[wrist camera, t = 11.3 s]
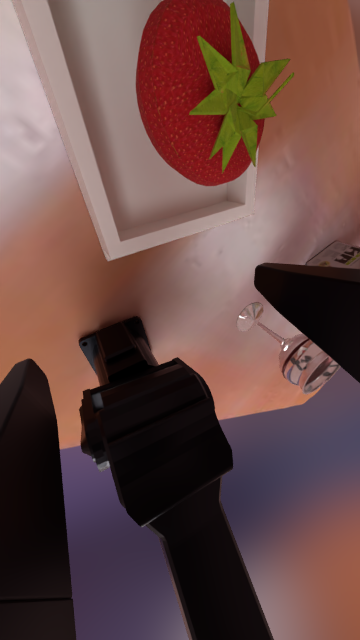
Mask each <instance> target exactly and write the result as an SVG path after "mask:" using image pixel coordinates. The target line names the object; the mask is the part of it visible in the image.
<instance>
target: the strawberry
mask: <svg viewBox="0 0 360 640" xmlns="http://www.w3.org/2000/svg"><path fill="white" fill-rule="evenodd" d="M289 61H290V59H283V60H276V61H269V62H262V63H261V64H260V62H259V59H258V55H257V53H256V50H255V48H254V45H253V43H252V41H251V39H250V37H249V35H248V34H247V32H246V30H245V28H244V27H243V25H242V23H241V22H240V20H239V18H238V16H237V12H236V8H235V4H234V2H232V3H231V4H230V7H229V6H228V5H227V3H225V2H224V1H223V0H163V1H161V2H160V3H159V4H158V5H157V7H156V8H155V9H154V10H153V11H152V12H151V14H150V16H149V18H148V20H147V22H146V25H145V27H144V29H143V33H142V38H141V42H140V47H139V53H138V61H137V69H136V95H137V103H138V108H139V112H140V116H141V120H142V122H143V125H144V128H145V130H146V133H147V135H148V137H149V139H150V141H151V143H152V145H153V146H154V148H155V149H156V151H157V152H158V154H159V155H160V156H161V157H162V158H163V160H164V161H165V162H166V163H167V164H168V165H169V166H171V167H172V168H173V169H174V170H176V171H177V172H178V173H180V174H181V175H182V176H184V177H185V178H187V179H188V180H190V181H192V182H194V183H196V184H199V185H203V186H217V185H221V184H224V183H227V182H230V181H233V180H235V179H236V178H238V177H239V176H241V175H242V174H243V173H244V172H245V171H246V170H247V168H248V167H249V165H250V164H251V162H252V163H253V165H254V167H256V151H257V149H258V146H259V143H260V140H261V136H262V132H263V127H264V120H265V118H268V117H274V116H276V114H275V112H274V110H273V108H272V106H271V104H270V101H271V100H272V99H273V98H274V97H275V96H276V95H277V94H278V93H279V92H280V90H281V89H282V88H283V87H284V86H285V85H286V84H287V83H288V82H289V81H290V80H291V78H292V77H293V76H294V73H292V74H291V75H290V76H289V77H288V78H287V79H286V80H285V82H284V83H283V84H282V85H281V86H280V87H279V88H278V89H277V90H276V92H275V93H274V94H273V95H272V96H271V97H270V98H269V99H268V98H267V96H266V94H265V93H266V92H267V90H268V89H269V88H270V86H271V85H272V84H273V82H274V81H275V80H276V78H277V77H278V75H279V74H280V73H281V71H282V70H283V69H284V67H285V66H286V65H287V63H288V62H289Z"/></svg>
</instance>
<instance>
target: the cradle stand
mask: <svg viewBox="0 0 360 640" xmlns="http://www.w3.org/2000/svg"><path fill="white" fill-rule="evenodd" d="M161 1H163V0H12V2H13V5H14V7H15V10H16V13H17V16H18V18H19V21H20V24H21V27H22V29H23V32H24V35H25V38H26V40H27V43H28V46H29V49H30V51H31V54H32V57H33V60H34V62H35V65H36V68H37V71H38V73H39V76H40V79H41V82H42V85H43V87H44V90H45V93H46V96H47V98H48V101H49V104H50V107H51V109H52V112H53V115H54V118H55V120H56V123H57V126H58V129H59V131H60V134H61V137H62V140H63V142H64V145H65V148H66V151H67V153H68V156H69V159H70V162H71V164H72V167H73V170H74V173H75V176H76V178H77V181H78V184H79V187H80V189H81V192H82V195H83V198H84V200H85V203H86V206H87V209H88V211H89V214H90V217H91V220H92V222H93V225H94V228H95V231H96V233H97V236H98V239H99V242H100V244H101V247H102V250H103V253H104V255H105V258H106V259H107V261H111V260H114V259H117V258H120V257H123V256H127V255H130V254H133V253H136V252H139V251H142V250H145V249H148V248H152V247H155V246H158V245H161V244H164V243H167V242H170V241H173V240H177V239H180V238H183V237H186V236H189V235H192V234H195V233H199V232H202V231H205V230H208V229H211V228H214V227H217V226H220V225H224V224H227V223H230V222H233V221H235V220H238V219H241V218H244V217H247V216H250V215H253V214H254V205H255V191H256V177H257V162H258V149H257V151H256V167H254V165H253V163H252V162H251V164H250V165H249V167H248V168H247V170H246V171H245V172H244V173H243V174H242V175H241V176H239V177H238V178H236V179H235V180H233V181H230V182H227V183H224V184H221V185H217V186H203V185H199V184H196V183H194V182H192V181H190V180H188V179H187V178H185V177H184V176H182V175H181V174H180V173H178V172H177V171H176V170H174V169H173V168H172V167H171V166H169V165H168V164H167V163H166V162H165V161H164V160H163V158H162V157H161V156H160V155H159V154H158V152H157V151H156V149H155V148H154V146H153V145H152V143H151V141H150V139H149V137H148V135H147V133H146V130H145V128H144V125H143V122H142V120H141V116H140V112H139V108H138V103H137V95H136V69H137V61H138V53H139V47H140V42H141V38H142V33H143V29H144V27H145V25H146V22H147V20H148V18H149V16H150V14H151V12H152V11H153V10H154V9H155V8H156V7H157V5H158V4H159V3H160V2H161ZM223 1H224V2H225V3H227V5H228V6H229V7H230V4H231V3H232V2H234V4H235V8H236V12H237V16H238V18H239V20H240V22H241V23H242V25H243V27H244V28H245V30H246V32H247V34H248V35H249V37H250V39H251V41H252V43H253V45H254V48H255V50H256V53H257V55H258V59H259V62H260V64H261V63H262V62H265V50H266V36H267V22H268V8H269V0H223ZM258 148H259V146H258Z"/></svg>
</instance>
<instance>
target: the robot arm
mask: <svg viewBox="0 0 360 640" xmlns="http://www.w3.org/2000/svg"><path fill="white" fill-rule="evenodd" d="M254 285H255V288H256V289H257V290H258V291H259V292H260V293H261V294H262V295H263V296H264V297H265V299H266V300H267V301H268V302H269V303H270V304H271V305H272V306H273V307H274V308H275V309H276V310H277V311H278V312H279V313H280V314H281V315H282V316H283V317H285V318H286V319H287V320H288V321H289V322H290V323H291V324H293V325H294V326H295V327H296V328H297V329H298V330H300V331H301V332H302V333H303V334H304V335H305V336H306V337H308V338H309V339H310V340H311V341H312V342H313V343H314V344H316V345H317V346H318V347H319V348H320V349H321V350H322V351H324V352H325V353H326V354H327V355H328V356H329V357H330V358H332V359H333V360H334V361H335V362H336V363H337V364H339V365H340V366H341V367H342V368H343V369H344V370H345V371H347V372H348V373H349V374H350V375H351V376H352V377H353V378H355V379H356V380H357V381H358V382H359V383H360V269H355V268H340V267H324V266H309V265H294V264H278V263H263V264H260V265H258V266H257V267H256V269H255V277H254ZM136 320H138V322H135V321H136ZM83 342H86V343H85V344H82V343H83ZM79 346H80V348H81V349H82V351H83V353H84V354H85V356H86V358H87V359H88V361H89V363H90V365H91V366H92V368H93V370H94V371H95V373H96V375H97V376H98V380H99V383H100V386H99V387H96V388H94V389H91V390H90V389H87V390H84V391H83V398H84V399H82V406H81V407H80V409H79V411H80V416H81V423H82V431H81V449H82V452H83V453H85V454H88V455H90V456H92V459H93V461H94V462H96V463H97V466H98V469H99V471H100V472H101V471H104V470H105V469H107V468H109V467H110V468H111V472H112V476H113V479H114V482H115V486H116V490H117V494H118V497H119V500H120V503H121V504H122V506H123V507H124V508H126V511H127V513H128V515H129V516H130V517H131V518H132V519H133V520H134V521H135V522H136V523H137V524H138V525H139V526H141V527H143V526H145V525H146V526H147V527H148V528H149V529H150V530H152V531H153V532H154V533H155V534H156V535H157V536H158V537H159V541H160V544H161V547H162V550H163V554H164V557H165V560H166V564H167V567H168V570H169V574H170V577H171V581H172V584H173V587H174V591H175V594H176V597H177V601H178V604H179V607H180V611H181V614H182V617H183V621H184V624H185V627H186V631H187V634H188V637H189V640H274V639H273V636H272V634H271V631H270V628H269V626H268V623H267V621H266V618H265V615H264V613H263V610H262V608H261V605H260V603H259V600H258V597H257V595H256V592H255V590H254V587H253V584H252V582H251V579H250V577H249V574H248V571H247V569H246V566H245V564H244V561H243V558H242V556H241V553H240V551H239V548H238V546H237V543H236V540H235V538H234V535H233V533H232V530H231V527H230V525H229V522H228V520H227V517H226V514H225V512H224V509H223V506H222V503H221V501H220V495H221V484H222V476H223V475H224V474H226V473H227V472H229V471H230V470H232V469H233V458H232V449H231V447H230V445H229V443H228V441H227V439H226V437H225V435H224V433H223V431H222V429H221V427H220V424H219V422H218V419H217V416H216V413H215V406H214V401H213V397H212V394H211V391H210V389H209V387H208V385H207V384H206V382H205V381H204V379H203V378H202V377H201V376H200V375H199V374H198V373H197V372H195V371H194V370H193V369H192V368H190V367H189V366H188V365H187V364H185V363H184V362H183V361H182V360H180V359H179V358H178V357H177V358H174V359H172V361H169V362H166V363H163V364H161V365H159V364H158V362H157V361H156V359H155V357H154V356H153V354H152V352H151V349H150V346H149V343H148V340H147V336H146V333H145V330H144V327H143V324H142V320H141V319H140V317H138V316H136V317H133V318H130V319H128V320H125V321H123V322H120V323H117V324H115V325H112V326H110V327H107V328H105V329H102V330H100V331H98V332H96V333H93V334H91V335H88V336H86V337H84V338H81V339H80V340H79ZM71 597H72V587H71V575H70V564H69V553H68V542H67V529H66V519H65V506H64V495H63V484H62V473H61V461H60V448H59V437H58V426H57V419H56V414H55V409H54V405H53V401H52V396H51V392H50V388H49V383H48V379H47V377H46V375H45V374H44V372H43V371H42V370H41V369H40V368H39V366H38V365H37V364H36V363H35V362H34V360H32V359H26V360H24V361H21V362H19V363H16V364H15V365H14V367H13V368H12V369H11V371H10V372H9V373H8V375H7V376H6V377H5V378H4V380H3V381H2V382H1V384H0V640H76V631H75V621H74V620H75V619H74V608H73V599H72V598H71Z"/></svg>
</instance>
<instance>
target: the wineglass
mask: <svg viewBox="0 0 360 640" xmlns="http://www.w3.org/2000/svg"><path fill="white" fill-rule="evenodd" d="M262 313H263V307H262V305H261V304H260V303H252V304H251V305H249V306H247V307H246V308H245V309H244V310H243V311H242V312H241V314H240V316H239V318H238V320H237V328H238V330H240V331H247V330H250V329H251V328H253V327H254V326H255V325H256V324H257V325H258V326H260V327H261V328H262V329H263V330H265V331H266V332H267V333H268V334H269V335H271V336H272V337H273V338H274V339H276V340H277V341H278V342H279V343H280V344H281V351H280V354H279V367H280V370H281V372H282V374H283V376H284V378H286V379H287V380H288V381H289V382H290V383H292V384H294V385H298V386H300V388H301V389H302V392H303V394H310V393H312V392H314V391H316V390H317V389H318V388H320V387H321V386H322V385H324V384H325V383H326V382H327V381H328V380H329V379H330V378H331V377H332V376H333V375H334V374H335V373H336V371H337V370H338V369H339V368H340V365H339V364H337V363H336V362H335V361H334V360H333V359H332V358H330V357H329V356H328V355H327V354H326V353H325V352H324V351H322V350H321V349H320V348H319V347H318V346H317V345H316V344H314V343H313V342H312V341H311V340H310V339H309V338H308V337H306V336H305V335H304V334H298V335H295V336H294V337H292V338H291V339H290V338H287V339H284V338H282V337H281V336H279V335H278V334H276V333H275V332H273V331H272V330H270V329H269V328H267V327H266V326H264V325H263V324H261V323H260V322H259V320H260V318H261V317H262Z"/></svg>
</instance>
